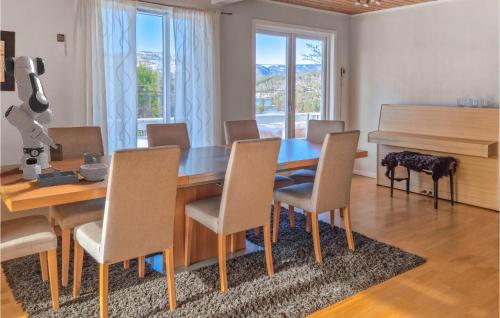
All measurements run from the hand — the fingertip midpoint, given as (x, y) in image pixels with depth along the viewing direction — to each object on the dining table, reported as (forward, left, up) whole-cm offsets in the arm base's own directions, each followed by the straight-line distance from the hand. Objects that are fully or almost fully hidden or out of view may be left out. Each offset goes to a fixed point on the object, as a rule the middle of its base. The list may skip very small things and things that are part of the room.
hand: (56, 147), depth 232 cm
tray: (0, -1, -20) cm, 20 cm away
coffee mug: (-26, +23, -20) cm, 40 cm away
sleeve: (0, 0, -7) cm, 7 cm away
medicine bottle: (-18, -12, -20) cm, 29 cm away
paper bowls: (+3, +18, -20) cm, 27 cm away
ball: (0, +6, -18) cm, 19 cm away
